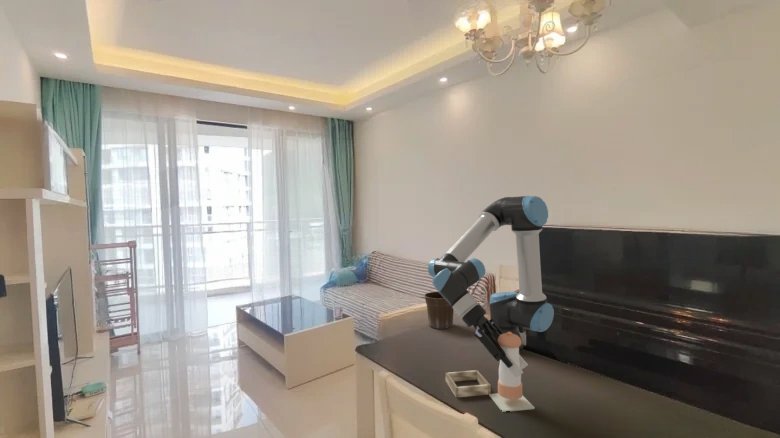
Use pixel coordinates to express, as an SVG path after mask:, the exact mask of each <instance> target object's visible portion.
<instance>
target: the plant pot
mask: <svg viewBox="0 0 780 438" xmlns="http://www.w3.org/2000/svg"><path fill="white" fill-rule="evenodd" d="M423 295H424V298H425V304H426V311H427V317H428V325H429V327H430V328H432V329H436V330H446V329H447V328H448V329H450V328H453V326H454V313H455V311H454V309H453V308H452V307H451V305H450V304H449V303H448V302H447V301H446V300H445V299H444V297H443V296H442V295H441V294H440V293H439V292H438V291H431V292H426V293H425V294H423Z"/></svg>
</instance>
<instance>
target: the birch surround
mask: <svg viewBox="0 0 780 438" xmlns="http://www.w3.org/2000/svg"><path fill="white" fill-rule="evenodd" d="M463 381H476V382H478V384H475V385H463V386H457V384H456V382H463ZM445 382H446V384H447V386H448V387H449V388H450V390H451V392H452V393H453V396H455V398H457V399H458V398H467V397H476V396H486V395H488V396H489V394H492V390H491V386H492V385H491V384H490V383H489V381H488V380H487V379H486V378H485V377H484V376H483V375H482V373H480V372H479V370H478V369H474V370H472V369H471V370H461V371H460V370H459V371H452V372H451V371H449V372H445Z"/></svg>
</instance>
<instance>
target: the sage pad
mask: <svg viewBox="0 0 780 438" xmlns="http://www.w3.org/2000/svg"><path fill="white" fill-rule="evenodd" d="M488 396H489V397H490V398H491V400H492V401H493V402H494V404H495V405H496V406H497V407H498V408H499V410H500V411H501V410H502V411H501V412H502V413H507V412H506V411H510V412H517V411H518V412H519V411H529V410H535V406H534V405H533V404H532V403H531V402H530V401H529V400H528V399H527V398H526V397H525V396H524V395H523V394H522V397H521V398H519V399H507V398H504V397H502V396H500V395H499V394H498V392H496V393H491V394H489V395H488Z"/></svg>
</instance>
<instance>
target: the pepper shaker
mask: <svg viewBox="0 0 780 438" xmlns="http://www.w3.org/2000/svg"><path fill="white" fill-rule="evenodd" d="M522 341H523V340H522ZM522 341H521V339H520V337H519V336H517V335H515V334H512V332H507V333H504V334H501V335H500V336H499V337H498V343H499V345H500V346H501V348H502V349H503V351H504V352H505V354H506V355H507V354H508V355H509V356H510V357H511V358H512V359H513V360H514V362H515V363H516V364H517V365H518V366H519V367H520V362H519V355H520V350H519V347H520V346H521V343H522ZM520 369H521V368H520ZM497 393H498V394H499V395H500V396H502V397H504V398H507V399H519V398H521V397H522V395H523V382H522V374H521V375H520V376H518V377H517V378H516V377H515V376H514V375H513V373H512V372H511V371H510V370H509V369H508V368H507V366H506V365H505V364H504V363H503V362H502V361H501V359H500V360H499V366H498V380H497Z"/></svg>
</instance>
